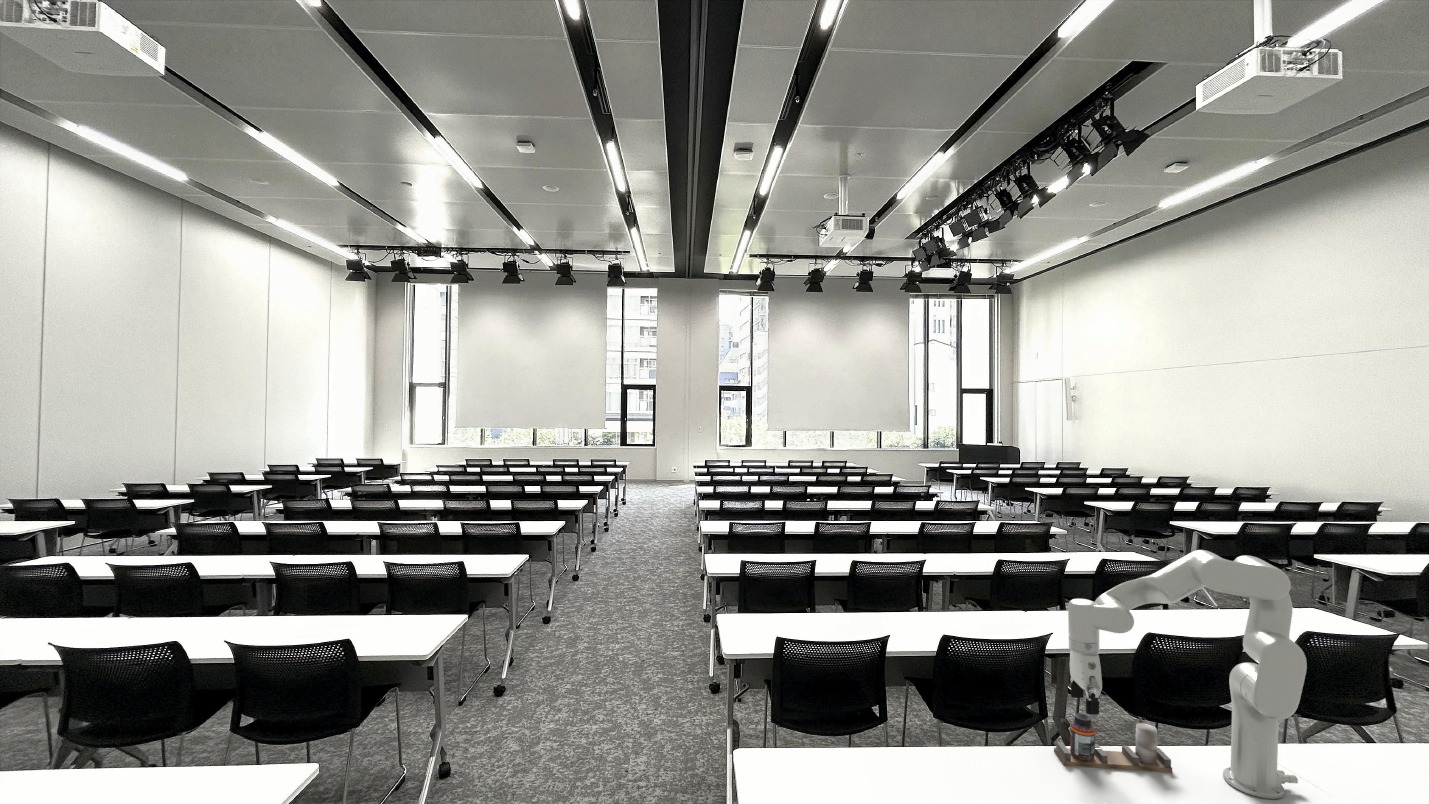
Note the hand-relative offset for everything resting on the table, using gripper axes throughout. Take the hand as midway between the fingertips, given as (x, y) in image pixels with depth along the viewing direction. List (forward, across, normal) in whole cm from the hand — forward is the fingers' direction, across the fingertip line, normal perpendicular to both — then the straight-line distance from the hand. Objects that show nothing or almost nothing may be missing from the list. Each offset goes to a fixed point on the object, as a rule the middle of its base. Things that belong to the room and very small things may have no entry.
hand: (1084, 705), depth 186 cm
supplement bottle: (+14, 0, +1) cm, 15 cm away
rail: (+16, 0, -7) cm, 17 cm away
